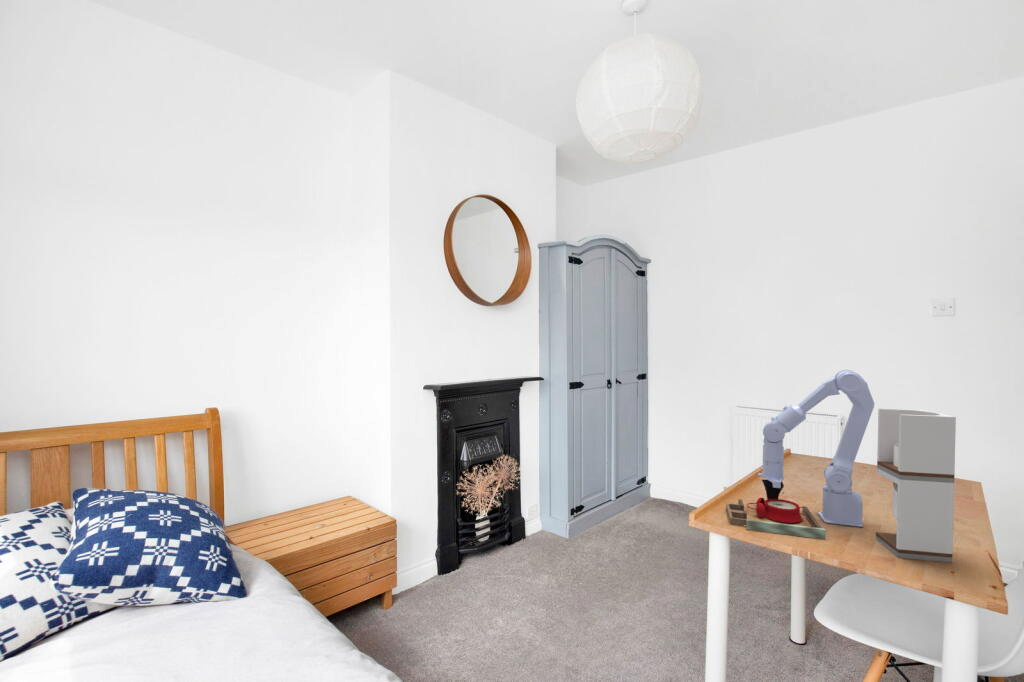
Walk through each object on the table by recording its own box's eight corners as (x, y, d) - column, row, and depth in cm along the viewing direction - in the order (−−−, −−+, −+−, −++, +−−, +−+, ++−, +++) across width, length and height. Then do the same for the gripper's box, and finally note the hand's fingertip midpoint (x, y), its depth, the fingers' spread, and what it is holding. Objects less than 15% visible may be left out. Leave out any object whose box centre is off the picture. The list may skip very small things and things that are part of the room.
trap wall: (806, 512, 150) (806, 504, 150) (825, 539, 130) (825, 530, 130) (738, 504, 156) (738, 496, 156) (746, 529, 136) (746, 520, 136)
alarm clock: (808, 514, 138) (750, 494, 145) (802, 535, 139) (745, 514, 146) (805, 503, 148) (751, 485, 154) (799, 522, 148) (746, 503, 155)
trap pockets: (740, 510, 151) (740, 504, 151) (745, 526, 139) (745, 519, 139) (726, 508, 152) (726, 503, 152) (730, 524, 140) (730, 517, 140)
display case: (924, 544, 128) (928, 410, 128) (952, 562, 118) (955, 417, 117) (875, 539, 130) (878, 408, 130) (898, 557, 120) (901, 414, 119)
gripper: (755, 454, 160) (754, 495, 160) (762, 465, 146) (761, 510, 147) (779, 456, 158) (779, 498, 158) (788, 467, 144) (788, 513, 144)
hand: (772, 504), depth 152 cm, fingers closed
